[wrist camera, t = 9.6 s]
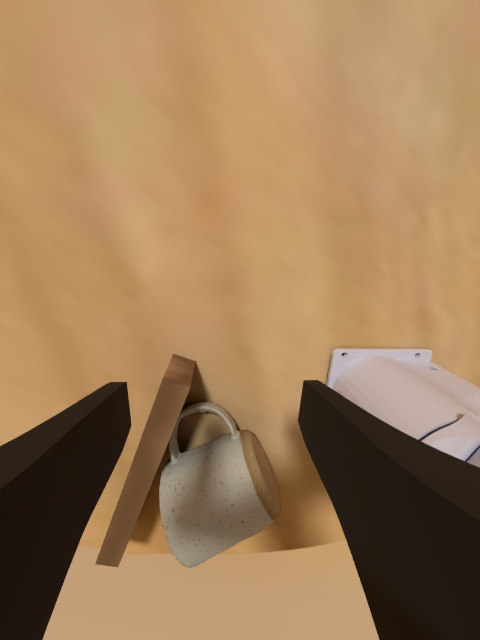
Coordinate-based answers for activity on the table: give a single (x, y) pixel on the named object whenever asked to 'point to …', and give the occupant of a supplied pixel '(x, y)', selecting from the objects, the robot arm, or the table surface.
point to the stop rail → (147, 458)
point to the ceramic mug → (215, 492)
